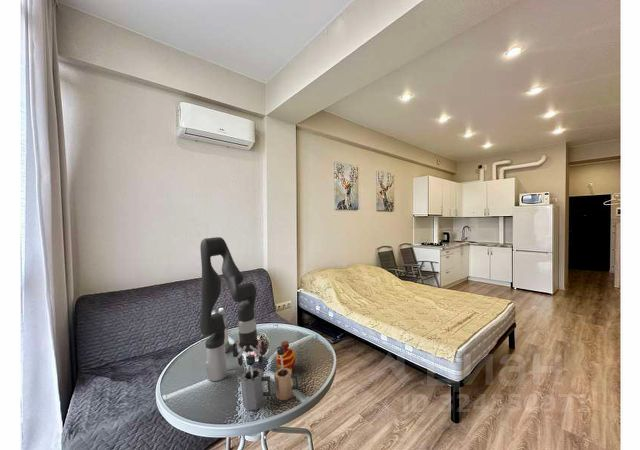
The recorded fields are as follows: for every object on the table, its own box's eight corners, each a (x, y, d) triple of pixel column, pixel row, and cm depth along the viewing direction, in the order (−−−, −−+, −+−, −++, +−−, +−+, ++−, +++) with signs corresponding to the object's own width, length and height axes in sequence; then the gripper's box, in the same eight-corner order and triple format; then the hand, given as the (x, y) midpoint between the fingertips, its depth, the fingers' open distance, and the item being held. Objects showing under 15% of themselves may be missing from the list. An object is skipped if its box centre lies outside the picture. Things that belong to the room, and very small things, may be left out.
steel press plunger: (248, 400, 113) (244, 359, 112) (251, 394, 116) (247, 355, 115) (257, 400, 113) (253, 359, 112) (259, 393, 116) (255, 354, 115)
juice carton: (214, 356, 156) (210, 313, 154) (214, 348, 166) (209, 308, 164) (229, 352, 159) (225, 310, 158) (228, 345, 169) (224, 305, 168)
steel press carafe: (241, 411, 110) (238, 382, 109) (247, 396, 119) (244, 369, 118) (270, 408, 110) (267, 379, 109) (273, 394, 119) (271, 367, 118)
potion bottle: (293, 376, 130) (291, 348, 130) (274, 375, 133) (272, 347, 132) (299, 364, 141) (297, 338, 140) (281, 363, 143) (279, 337, 142)
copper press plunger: (279, 382, 117) (276, 350, 116) (280, 377, 120) (277, 346, 119) (286, 381, 117) (283, 349, 116) (287, 376, 120) (284, 345, 119)
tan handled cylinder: (275, 400, 115) (273, 379, 114) (278, 388, 122) (276, 368, 122) (298, 398, 115) (296, 377, 114) (299, 387, 122) (297, 366, 122)
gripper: (228, 334, 109) (232, 370, 110) (261, 331, 109) (265, 367, 110) (234, 326, 117) (237, 360, 117) (265, 323, 117) (268, 357, 117)
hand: (251, 364), depth 114 cm, fingers open, 8 cm apart
